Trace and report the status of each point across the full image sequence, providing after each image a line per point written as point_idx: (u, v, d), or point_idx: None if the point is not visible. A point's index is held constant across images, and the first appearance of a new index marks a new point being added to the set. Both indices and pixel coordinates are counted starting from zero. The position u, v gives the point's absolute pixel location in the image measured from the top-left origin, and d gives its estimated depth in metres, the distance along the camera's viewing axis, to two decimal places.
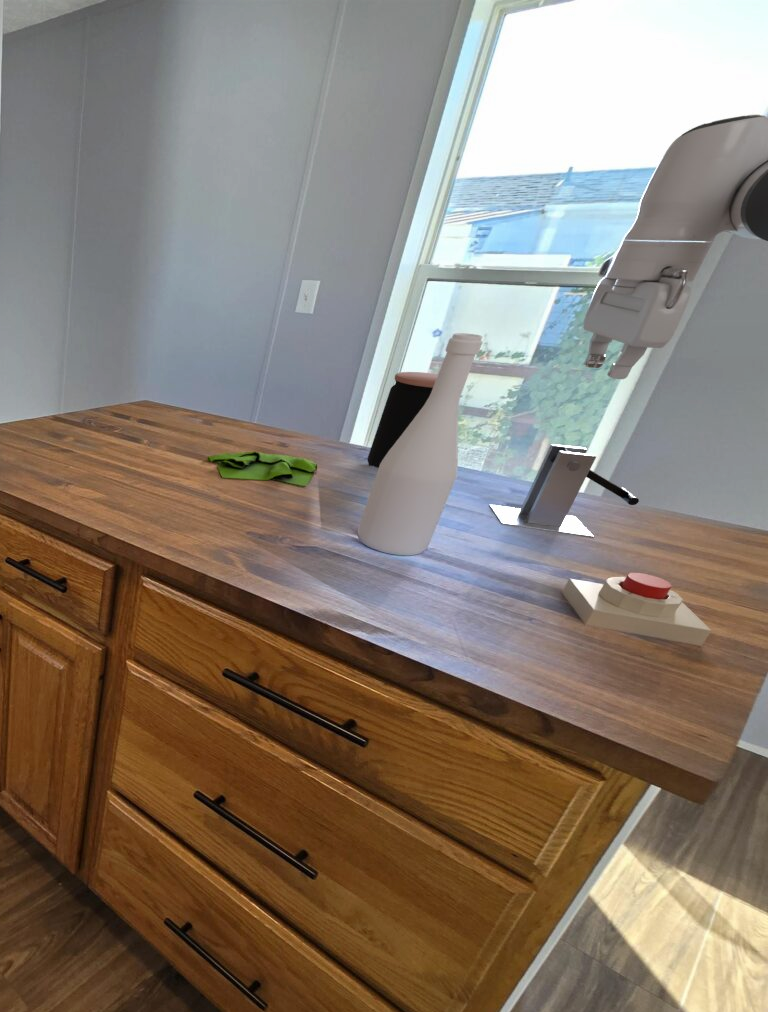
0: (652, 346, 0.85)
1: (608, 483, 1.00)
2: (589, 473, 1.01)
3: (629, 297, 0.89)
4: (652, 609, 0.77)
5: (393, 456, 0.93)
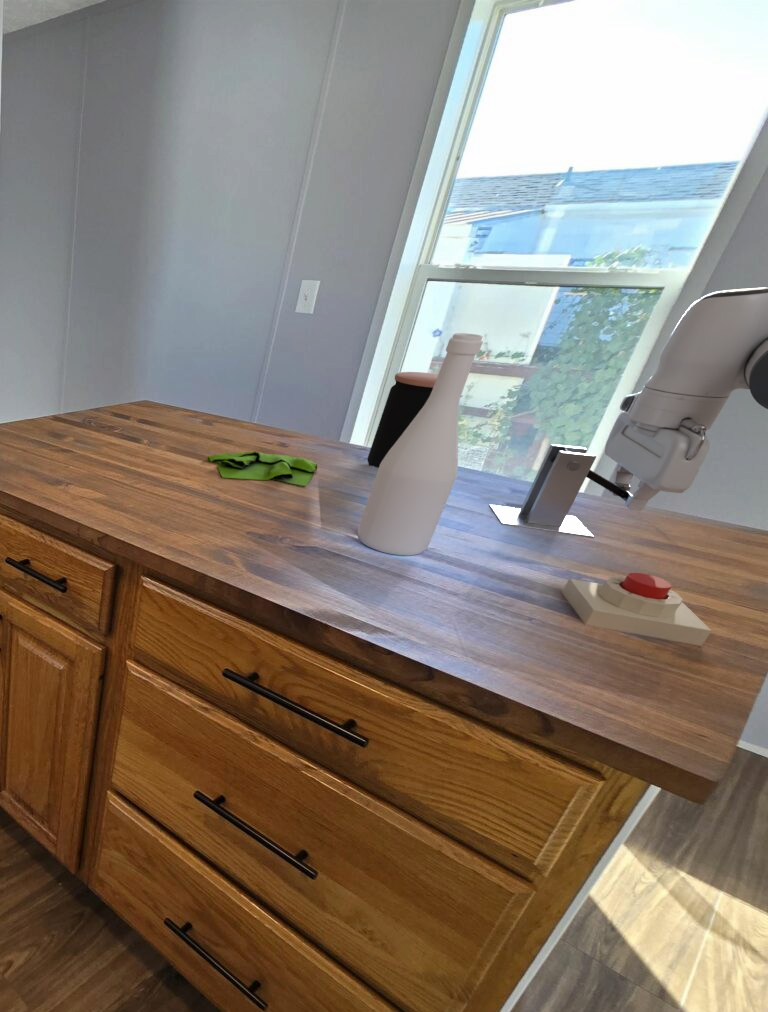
0: (672, 491, 0.91)
1: (608, 483, 1.00)
2: (589, 473, 1.01)
3: (650, 438, 0.96)
4: (652, 609, 0.77)
5: (393, 456, 0.93)
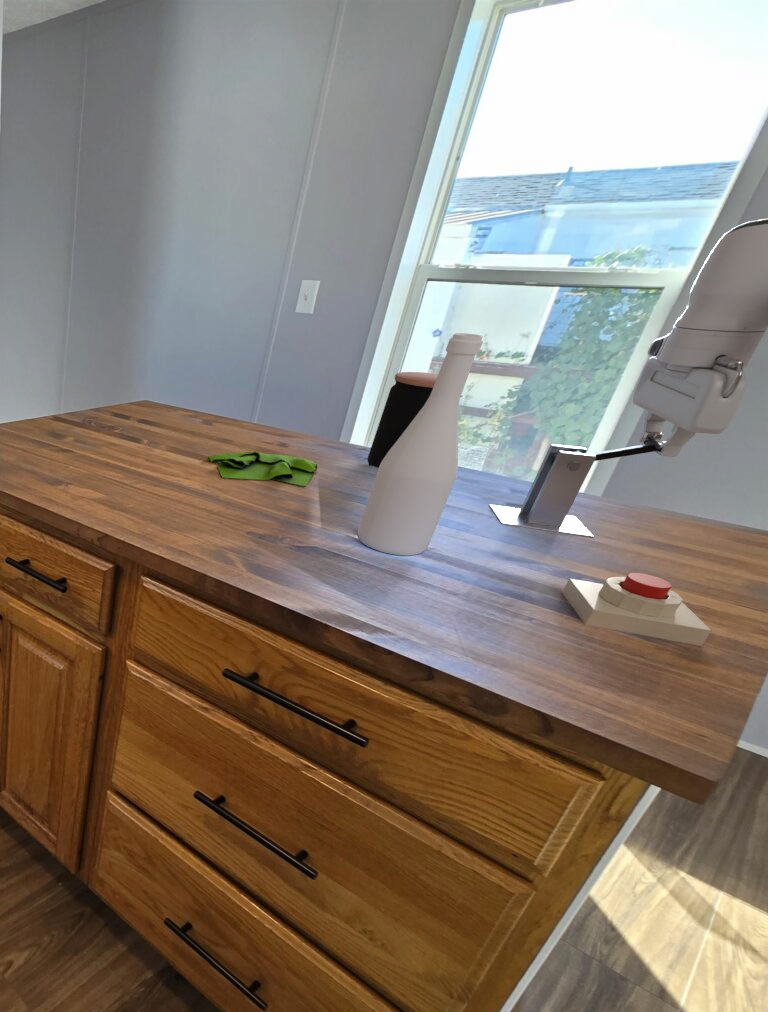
0: (709, 432, 0.87)
1: (624, 451, 0.98)
2: (598, 456, 1.00)
3: (682, 381, 0.92)
4: (652, 609, 0.77)
5: (393, 456, 0.93)
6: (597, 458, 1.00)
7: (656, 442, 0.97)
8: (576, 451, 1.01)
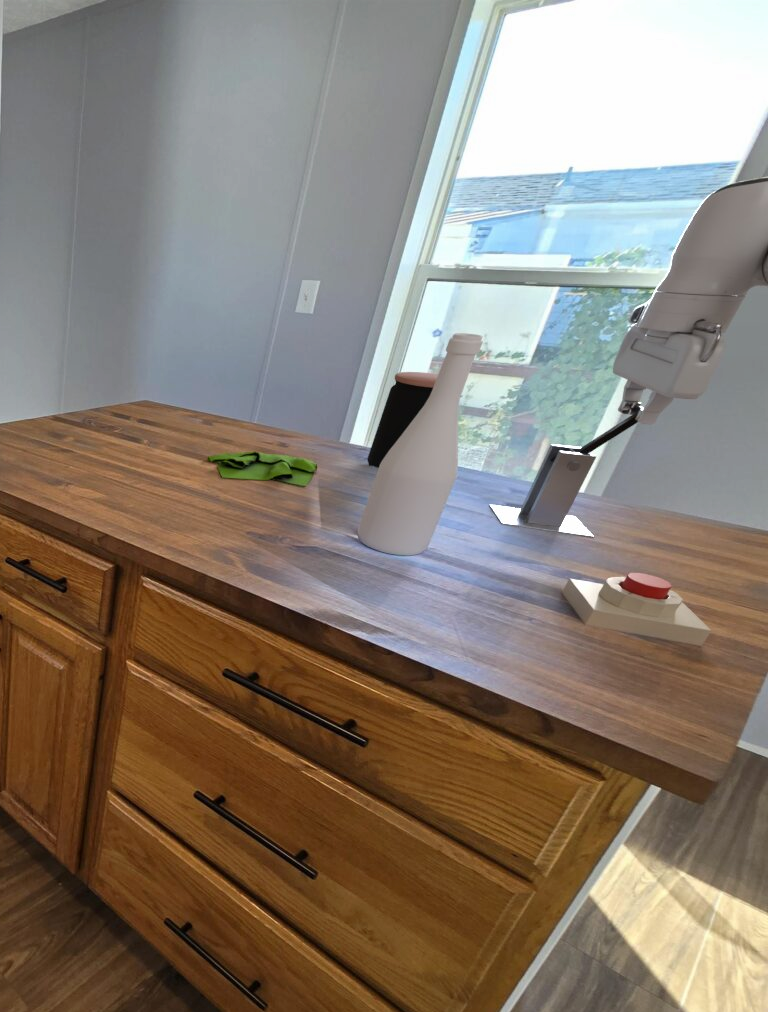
0: (686, 397, 0.86)
1: (615, 431, 0.97)
2: (592, 445, 0.99)
3: (661, 347, 0.91)
4: (652, 609, 0.77)
5: (393, 456, 0.93)
6: (593, 447, 0.99)
7: None
8: (569, 450, 1.01)
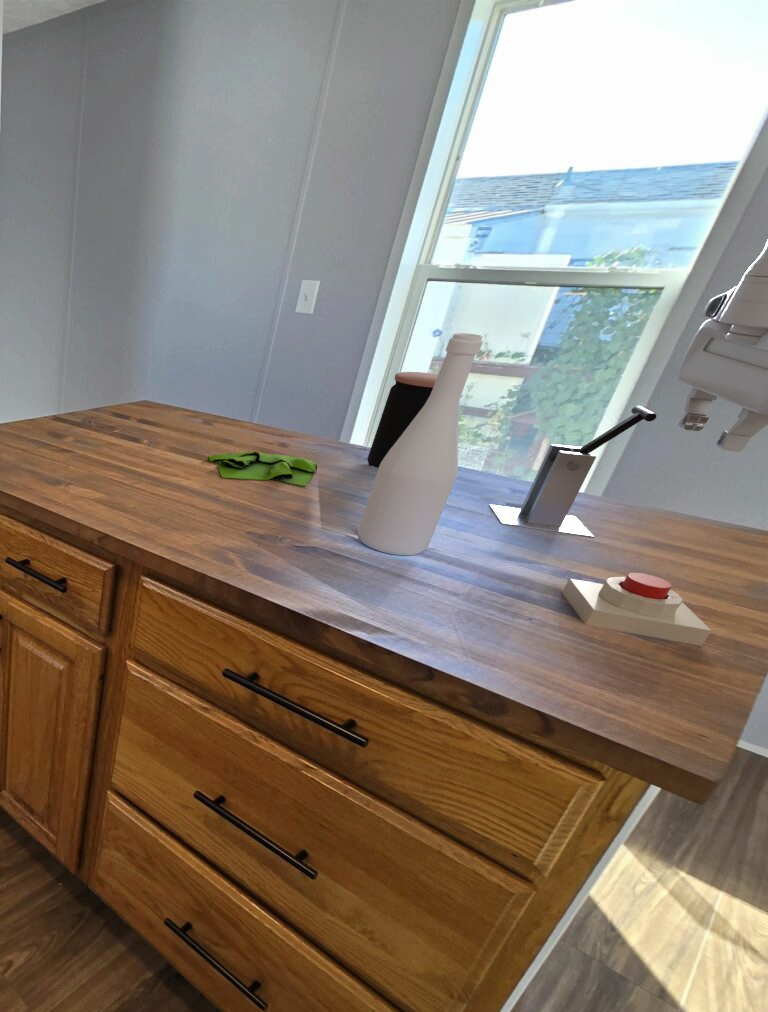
0: None
1: (615, 431, 0.97)
2: (592, 446, 0.99)
3: (750, 348, 0.70)
4: (652, 609, 0.77)
5: (393, 456, 0.93)
6: (593, 447, 0.99)
7: (640, 410, 0.96)
8: (569, 450, 1.01)
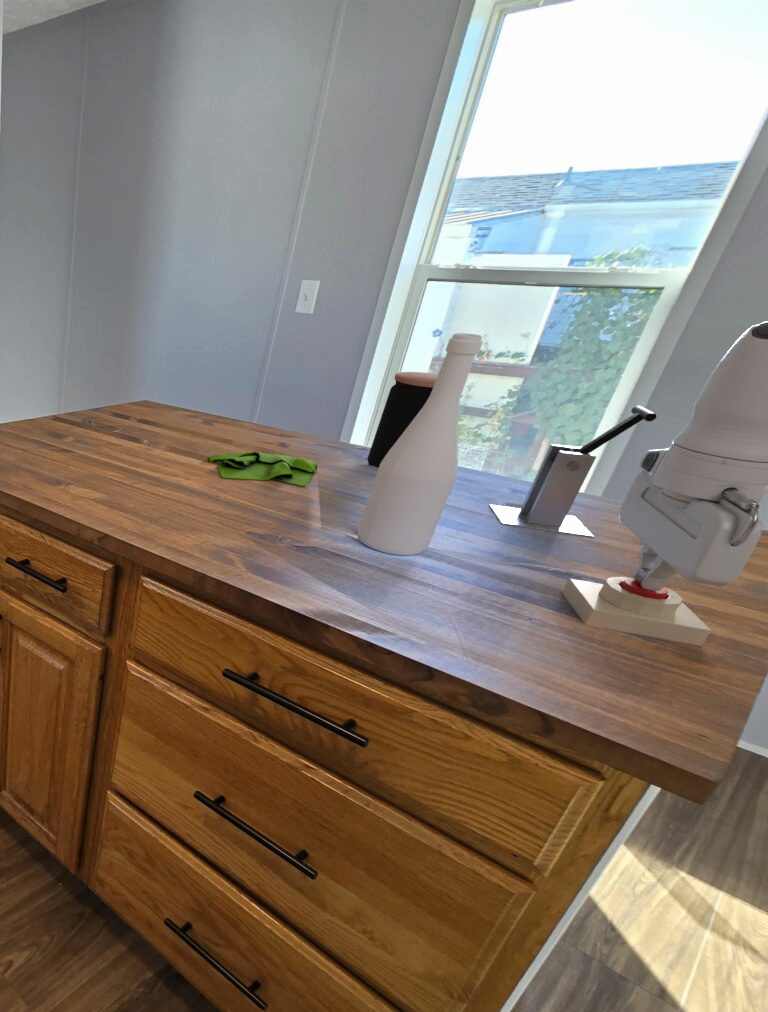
0: (711, 584, 0.69)
1: (615, 431, 0.97)
2: (592, 446, 0.99)
3: (680, 510, 0.74)
4: (652, 609, 0.77)
5: (393, 456, 0.93)
6: (593, 447, 0.99)
7: (640, 410, 0.96)
8: (569, 450, 1.01)
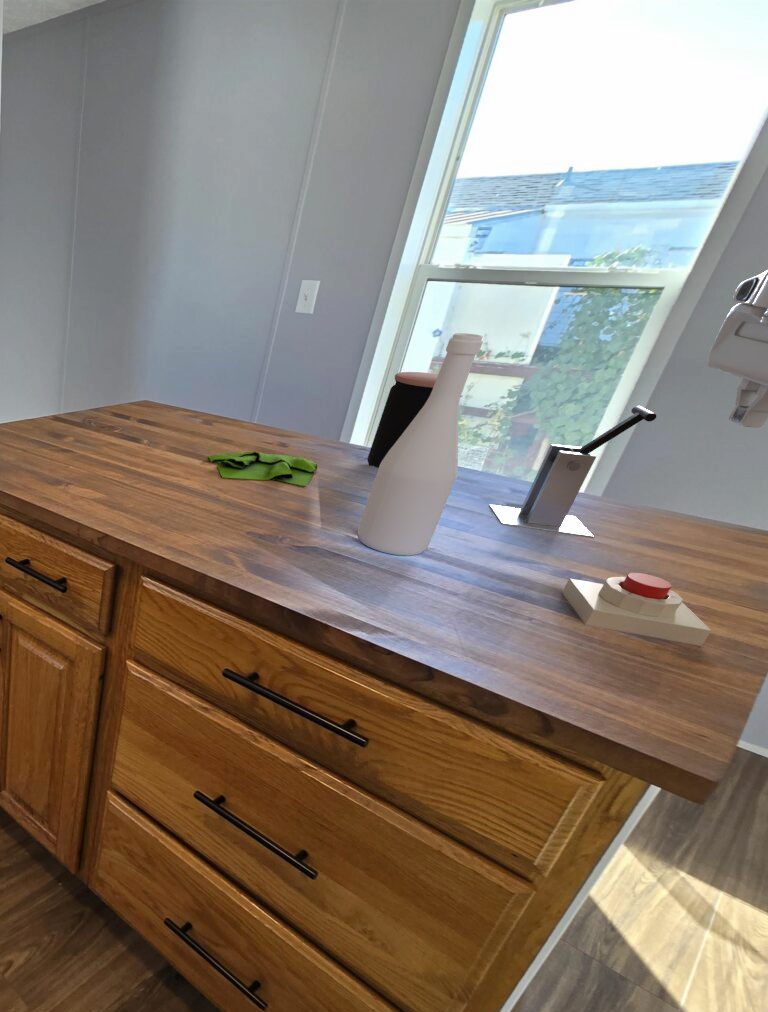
0: None
1: (615, 431, 0.97)
2: (592, 446, 0.99)
3: None
4: (652, 609, 0.77)
5: (393, 456, 0.93)
6: (593, 447, 0.99)
7: (640, 410, 0.96)
8: (569, 450, 1.01)
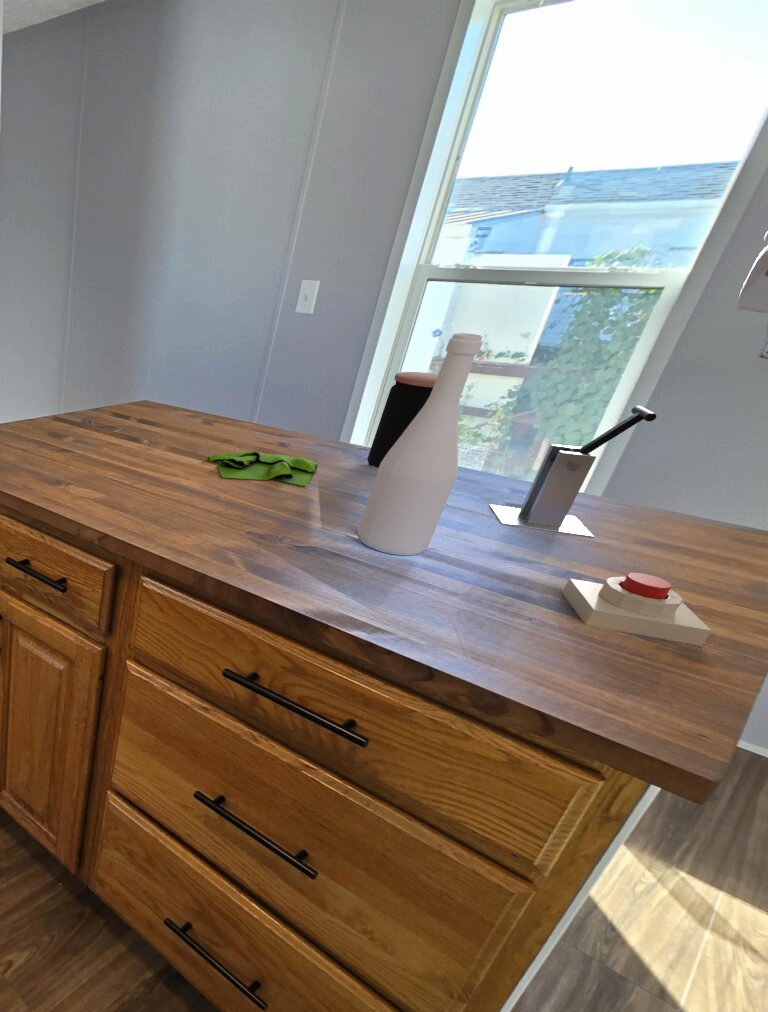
0: None
1: (615, 431, 0.97)
2: (592, 446, 0.99)
3: None
4: (652, 609, 0.77)
5: (393, 456, 0.93)
6: (593, 447, 0.99)
7: (640, 410, 0.96)
8: (569, 450, 1.01)
